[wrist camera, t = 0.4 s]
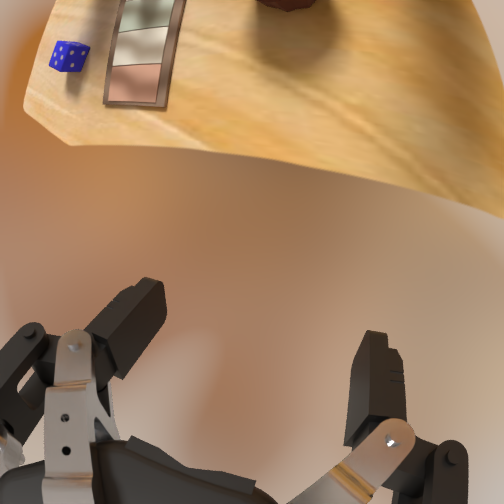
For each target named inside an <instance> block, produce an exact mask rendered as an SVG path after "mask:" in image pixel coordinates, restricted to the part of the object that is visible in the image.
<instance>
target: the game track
mask: <svg viewBox="0 0 504 504" xmlns="http://www.w3.org/2000/svg"><path fill="white" fill-rule="evenodd" d="M185 2H186V0H121V1H120V5H119V9H118V13H117V18H116V22H115V27H114V32H113V37H112V42H111V47H110V53H109V59H108V65H107V72H106V79H105V87H104V96H103V104H113V105H140V106H156V107H167V99H168V92H169V85H170V79H171V73H172V67H173V61H174V55H175V50H176V44H177V39H178V34H179V29H180V25H181V20H182V15H183V11H184V7H185Z"/></svg>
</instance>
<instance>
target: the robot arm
mask: <svg viewBox="0 0 504 504" xmlns="http://www.w3.org/2000/svg"><path fill="white" fill-rule="evenodd" d="M166 316H167V307H166V299H165V291H164V285H163V283H162V282H161V281H158V280H154V279H151V278H147V277H144V278H142V279H141V280H140V281H139V282H138V283H137V284H136V285H135V286H130V287H128V288H126V289H125V290H122V291H121V292H120V293H119V294H118V295H117V296H116V297H115V298H114V299H113V301H111V302H110V303H109V304H108V305H107V307H105V308H104V309H103V310H102V311H101V312H100V313H99V314H98V315H97V316H96V317H95V318H94V319H93V320H92V321H91V322H90V324H89V325H88V326H87V327H86V328H85V329H84V330H79V329H78V330H77V329H76V330H71V331H68V332H66V333H65V334H64V335H62V336H56V335H50V334H46V331H45V330H44V327H43V326H42V325H41V324H40V323H36V322H32V323H28V324H26V325H24V326H23V327H22V328H20V329H19V330H18V332H16V334H15V335H14V336H13V337H12V338H11V339H10V340H9V341H8V342H7V343H6V344H5V346H4V347H3V348H2V349H1V350H0V504H278V503H277V502H276V501H275V500H274V499H273V498H272V497H271V496H269V495H268V494H267V493H265V492H264V491H262V490H261V489H259V488H256V487H255V483H256V480H251V479H248V478H244V477H240V476H237V475H233V474H229V473H226V472H222V471H210V470H202V469H194V468H188V467H185V466H183V465H182V464H181V463H179V462H178V461H176V460H175V459H174V458H172V457H171V456H169V455H168V454H167V453H165V452H164V451H162V450H161V449H160V448H158V447H155V446H153V445H151V444H149V443H147V442H144V441H142V440H140V439H138V438H136V437H134V436H131V437H130V439H129V440H128V441H124V440H121V439H120V436H119V433H118V430H117V427H116V424H115V419H114V411H113V402H112V392H111V383H110V379H111V378H112V377H113V375H114V376H116V377H118V378H120V379H122V380H123V379H124V378H125V376H126V375H127V373H128V372H129V370H130V369H131V368H132V366H133V365H134V364H135V362H136V361H137V360H138V358H139V357H140V355H141V354H142V353H143V351H144V350H145V349H146V347H147V346H148V344H149V343H150V342H151V340H152V339H153V338H154V336H155V335H156V333H157V332H158V331H159V329H160V328H161V327H162V325H163V324H164V322H165V320H166ZM31 366H32V368H33V369H34V371H35V372H34V373H33V375H32V376H31V377H30V378H29V380H28V381H27V382H26V384H25V385H24V386H23V388H22V389H21V390H20V391H19V393H18V392H17V385H18V383H19V381H20V380H21V379H22V378H23V376H24V375H25V374H26V373H27V371H28V370H29V369H30V368H31ZM403 373H404V370H403V360H402V359H401V357H400V355H399V353H398V351H397V349H392V348H388V336H387V334H386V333H381V332H376V331H370V330H367V331H366V333H365V335H364V337H363V340H362V342H361V344H360V346H359V349H358V351H357V353H356V355H355V357H354V360H353V364H352V368H351V377H350V391H349V402H348V413H347V421H346V430H345V438H344V446H350V447H352V452H351V453H350V454H349V455H348V456H347V457H346V458H345V459H344V460H342V461H341V462H340V463H339V464H338V465H336V466H335V467H334V468H332V469H331V470H330V471H329V472H327V473H326V474H325V475H324V476H323V477H321V478H320V479H319V480H318V481H316V482H315V483H314V484H313V485H311V486H310V487H309V488H307V489H306V490H305V491H303V492H302V493H301V494H299V495H298V496H297V497H295V498H294V499H293V500H291V501H290V502H288V503H287V504H367V503H368V502H369V501H370V500H371V499H372V497H373V496H372V495H373V494H374V493H375V491H376V490H377V489H378V488H379V487H380V486H383V487H385V488H388V489H391V490H393V498H392V504H468V454H467V451H466V449H465V447H464V446H463V445H462V444H461V443H459V442H458V441H455V440H447V441H444V442H443V443H441V444H440V445H439V446H438V445H436V444H433V443H430V442H427V441H425V440H422V439H420V438H418V437H417V436H416V435H415V433H414V430H413V428H412V427H411V426H410V425H409V424H408V423H407V417H406V396H405V384H404V375H403ZM43 415H44V455H45V460H42V461H39V462H35V463H32V464H28V465H24V466H20V467H19V465H22V464H24V462H25V457H24V455H23V454H22V452H23V451H22V447H23V445H24V444H25V442H26V440H27V439H28V437H29V436H30V434H31V433H32V431H33V430H34V428H35V427H36V425H37V424H38V422H39V420H40V419H41V418H42V416H43Z"/></svg>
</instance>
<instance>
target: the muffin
mask: <svg viewBox="0 0 504 504" xmlns="http://www.w3.org/2000/svg"><path fill="white" fill-rule="evenodd" d="M257 1H259V2H261V3H263V4H264V5H266V6H269V7H274V8H279V9H281V10H284V11H286V12H289V11H293V10H296V9H301V8H309V7H310V6H311V5H312V4H313V3H314V2H315V1H316V0H257Z"/></svg>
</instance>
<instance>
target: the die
mask: <svg viewBox="0 0 504 504" xmlns="http://www.w3.org/2000/svg"><path fill="white" fill-rule="evenodd" d="M89 49H90V47H88V46H86V45H83V44H81V43H78V42H70V41H57V43H56V46H55V48H54V51H53V54H52V57H51V60H50V63H49V66H50V67H52V68H54V69H56V70H58V71H60V72H81V70H82V67H83V64H84V62H85V59H86V56H87V54H88V52H89Z"/></svg>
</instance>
